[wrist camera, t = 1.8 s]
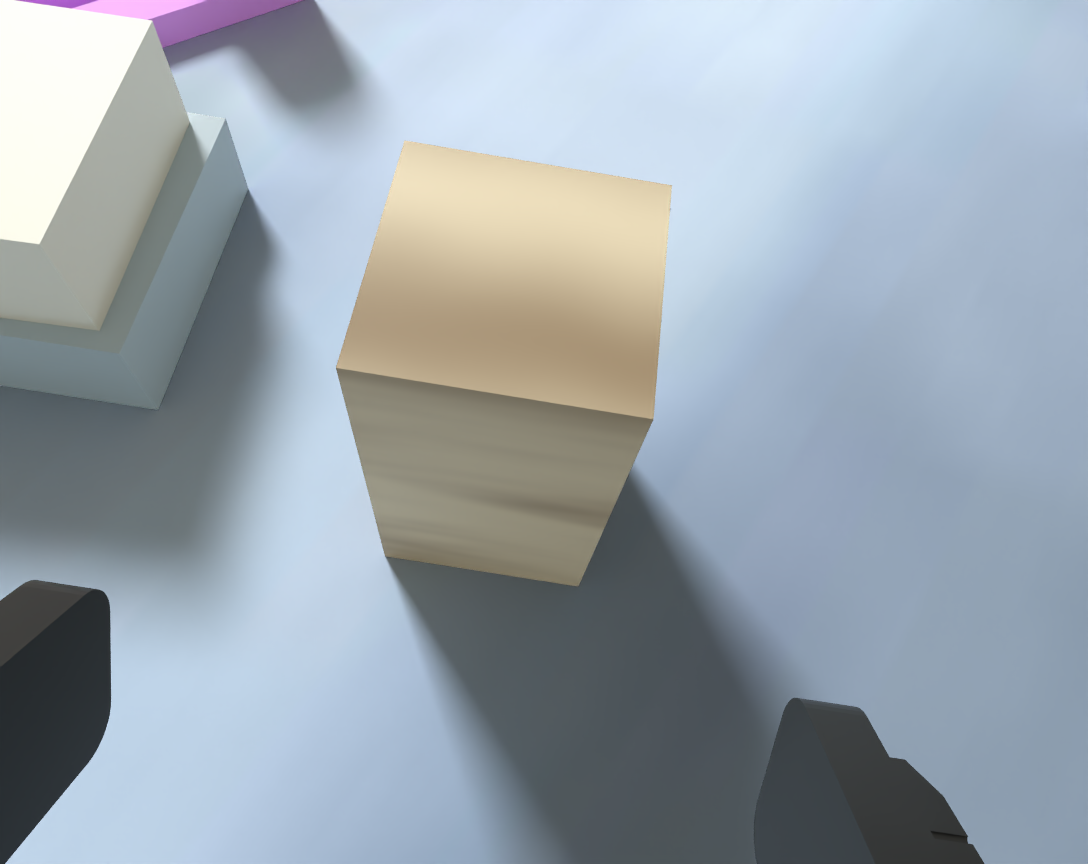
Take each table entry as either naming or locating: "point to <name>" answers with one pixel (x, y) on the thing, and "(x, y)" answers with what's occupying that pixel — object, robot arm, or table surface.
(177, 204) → the tower base
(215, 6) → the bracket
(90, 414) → the table surface
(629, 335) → the maple pillar
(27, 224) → the tower top
